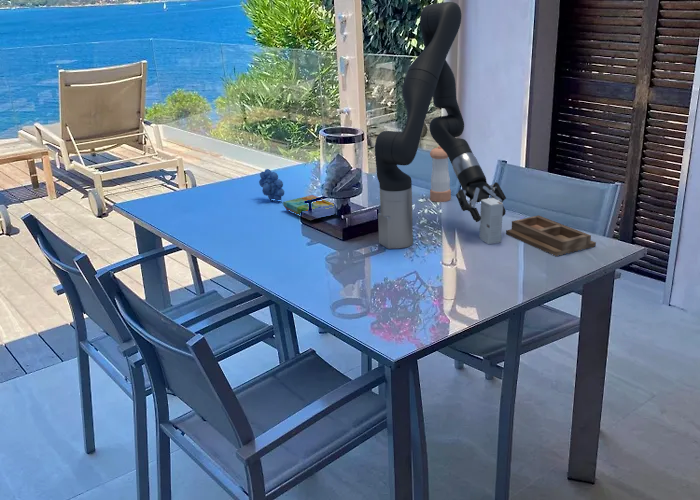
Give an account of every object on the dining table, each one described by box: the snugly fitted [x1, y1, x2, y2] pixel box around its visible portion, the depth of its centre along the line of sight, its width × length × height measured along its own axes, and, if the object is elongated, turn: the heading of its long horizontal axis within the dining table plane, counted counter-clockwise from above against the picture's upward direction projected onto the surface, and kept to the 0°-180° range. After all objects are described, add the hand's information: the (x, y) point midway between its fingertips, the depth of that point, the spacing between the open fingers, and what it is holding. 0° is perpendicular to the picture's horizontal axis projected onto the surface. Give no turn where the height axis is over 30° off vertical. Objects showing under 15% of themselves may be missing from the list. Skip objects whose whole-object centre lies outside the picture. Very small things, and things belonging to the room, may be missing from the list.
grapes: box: [258, 168, 285, 201], centre depth 250 cm, size 12×7×12 cm, turn 53°
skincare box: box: [479, 197, 504, 245], centre depth 199 cm, size 6×4×12 cm
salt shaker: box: [429, 145, 452, 203], centre depth 240 cm, size 7×7×19 cm
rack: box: [505, 215, 597, 257], centre depth 198 cm, size 14×22×4 cm, turn 25°
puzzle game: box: [282, 194, 335, 215], centre depth 234 cm, size 12×5×20 cm
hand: (491, 217), depth 199 cm, fingers open, 8 cm apart
